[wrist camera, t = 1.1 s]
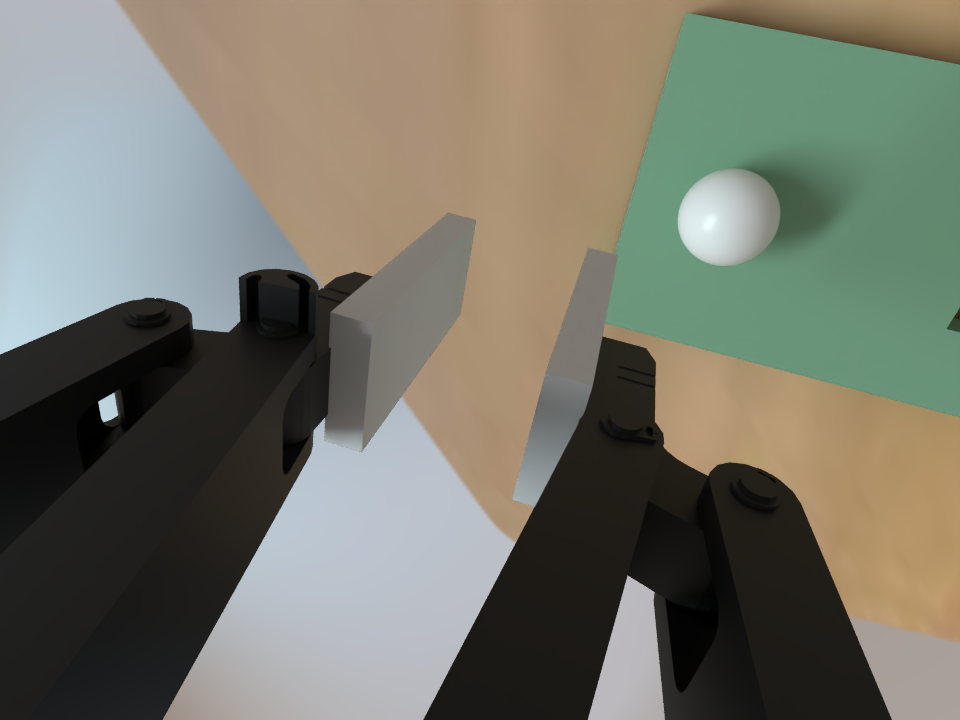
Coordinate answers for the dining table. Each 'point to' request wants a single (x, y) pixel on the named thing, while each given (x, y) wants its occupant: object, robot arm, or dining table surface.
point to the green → (807, 211)
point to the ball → (729, 217)
